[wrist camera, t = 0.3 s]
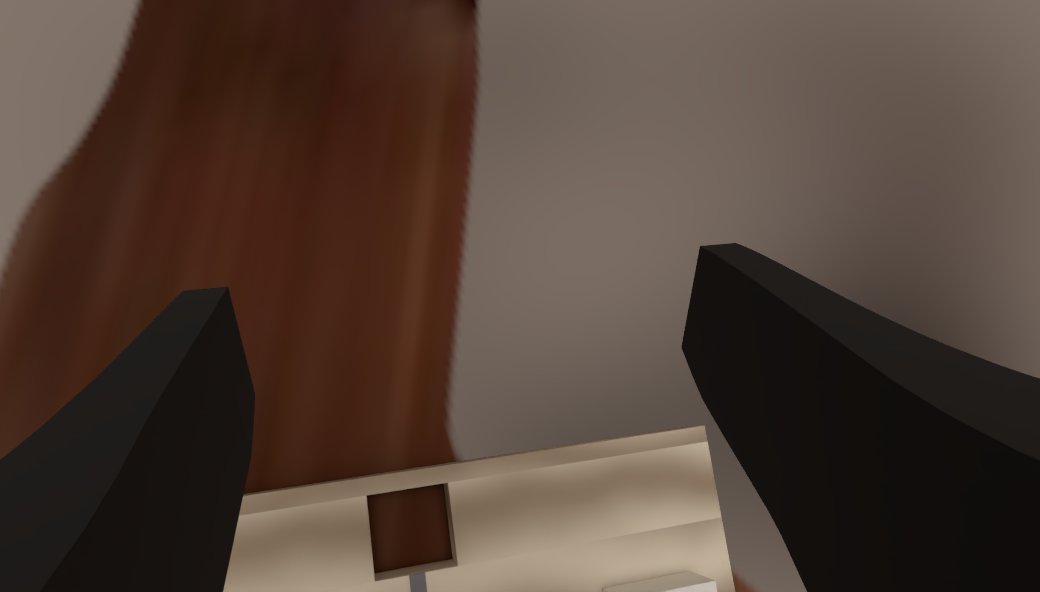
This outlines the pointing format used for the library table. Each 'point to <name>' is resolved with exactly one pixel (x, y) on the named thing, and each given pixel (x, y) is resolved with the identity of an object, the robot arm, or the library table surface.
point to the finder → (669, 584)
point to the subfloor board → (503, 523)
